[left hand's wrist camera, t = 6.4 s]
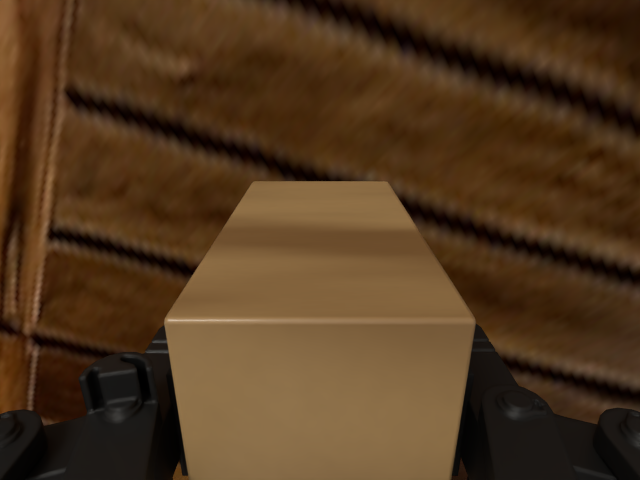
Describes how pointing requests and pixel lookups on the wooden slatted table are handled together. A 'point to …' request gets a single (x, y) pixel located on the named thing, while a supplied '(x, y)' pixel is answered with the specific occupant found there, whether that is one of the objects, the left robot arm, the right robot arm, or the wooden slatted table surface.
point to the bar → (320, 342)
